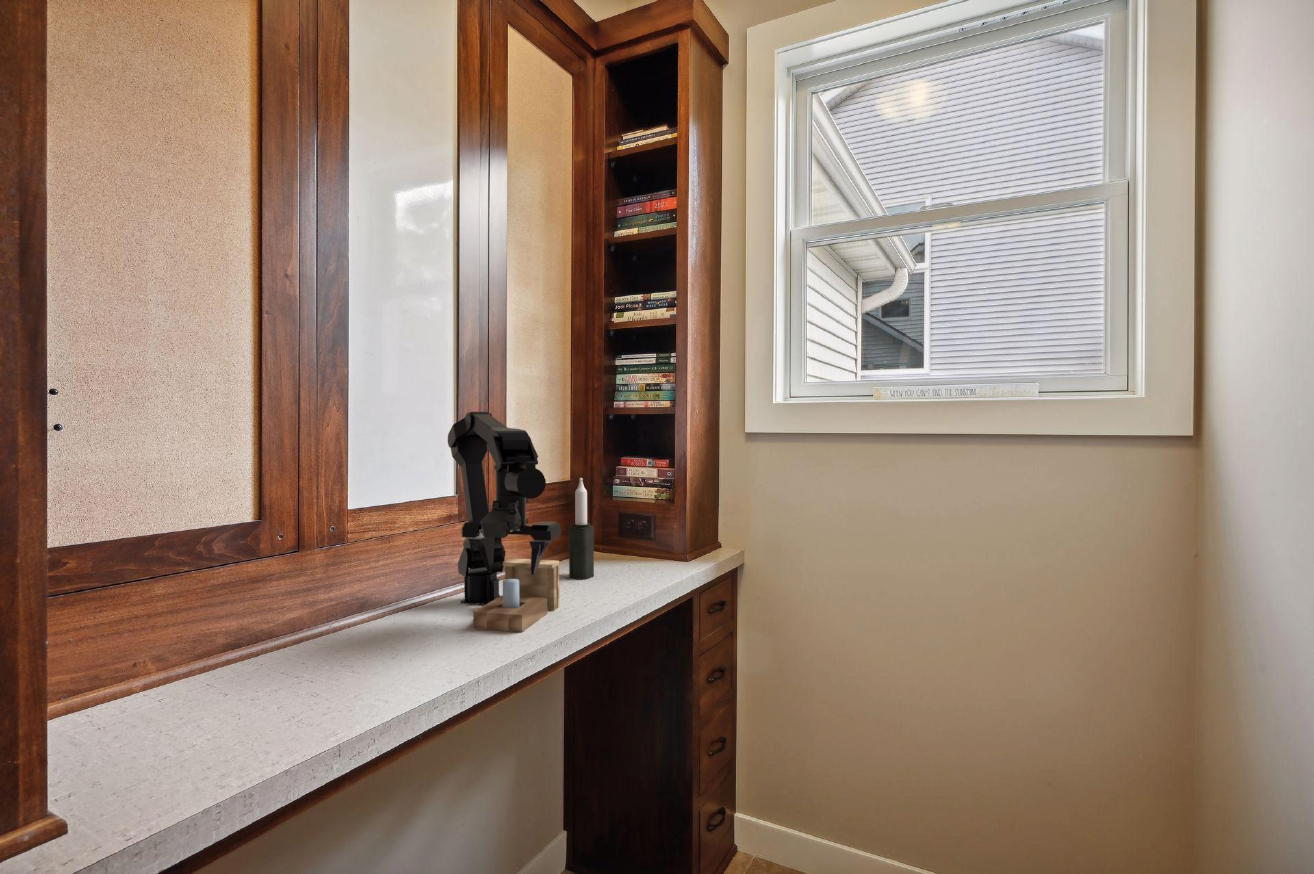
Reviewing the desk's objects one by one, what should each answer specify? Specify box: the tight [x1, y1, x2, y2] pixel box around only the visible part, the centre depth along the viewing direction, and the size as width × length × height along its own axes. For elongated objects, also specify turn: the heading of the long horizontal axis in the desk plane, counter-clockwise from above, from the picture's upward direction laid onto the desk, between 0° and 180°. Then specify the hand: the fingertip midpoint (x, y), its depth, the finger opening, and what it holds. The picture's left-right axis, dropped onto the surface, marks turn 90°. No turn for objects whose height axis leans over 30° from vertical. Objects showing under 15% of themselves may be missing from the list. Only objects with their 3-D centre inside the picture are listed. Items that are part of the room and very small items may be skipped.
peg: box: [502, 579, 519, 609], centre depth 132 cm, size 3×3×8 cm
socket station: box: [472, 557, 560, 633], centre depth 134 cm, size 11×18×10 cm, turn 167°
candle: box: [568, 477, 595, 581], centre depth 168 cm, size 5×5×25 cm
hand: (511, 573), depth 131 cm, fingers open, 9 cm apart
